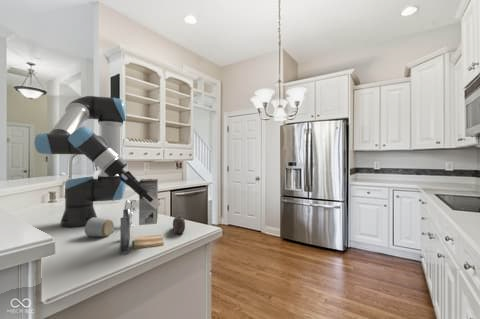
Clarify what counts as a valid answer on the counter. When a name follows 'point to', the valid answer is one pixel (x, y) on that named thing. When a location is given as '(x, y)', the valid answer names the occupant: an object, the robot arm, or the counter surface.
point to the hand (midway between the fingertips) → (157, 204)
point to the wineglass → (131, 209)
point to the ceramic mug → (99, 227)
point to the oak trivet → (148, 241)
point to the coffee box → (145, 209)
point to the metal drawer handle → (125, 232)
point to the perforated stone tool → (178, 224)
